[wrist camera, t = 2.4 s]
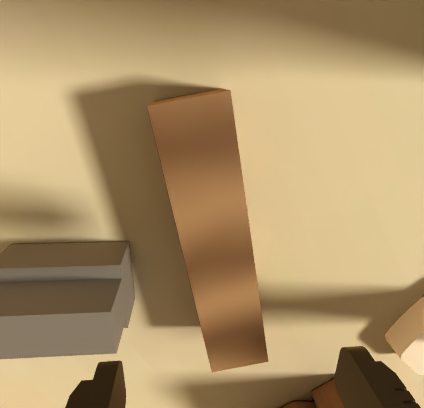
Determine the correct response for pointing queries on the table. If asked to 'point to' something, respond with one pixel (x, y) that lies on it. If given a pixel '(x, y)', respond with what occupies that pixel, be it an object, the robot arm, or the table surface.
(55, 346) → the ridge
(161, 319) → the table surface
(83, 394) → the robot arm
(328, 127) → the table surface
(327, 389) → the brown rod with wedge
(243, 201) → the walnut bar
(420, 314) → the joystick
